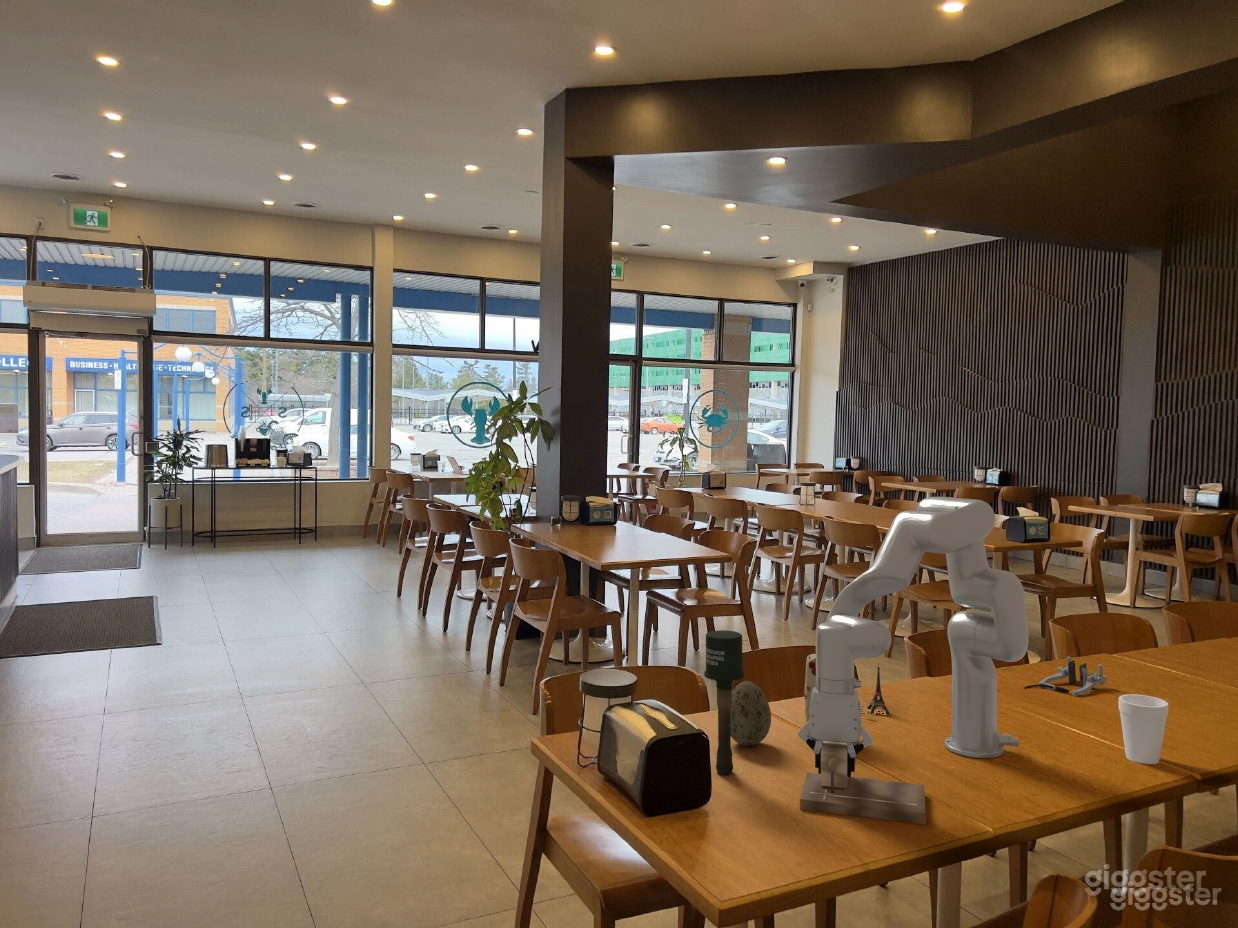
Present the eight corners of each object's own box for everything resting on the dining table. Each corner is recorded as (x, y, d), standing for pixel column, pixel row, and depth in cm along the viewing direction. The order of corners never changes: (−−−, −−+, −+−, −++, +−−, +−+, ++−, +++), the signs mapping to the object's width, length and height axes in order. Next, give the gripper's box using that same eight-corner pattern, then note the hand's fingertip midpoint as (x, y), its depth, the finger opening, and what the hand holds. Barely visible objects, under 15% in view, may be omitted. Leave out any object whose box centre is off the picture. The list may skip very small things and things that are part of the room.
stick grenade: (701, 765, 192) (700, 630, 191) (739, 764, 193) (739, 628, 192) (708, 781, 184) (707, 639, 183) (748, 779, 185) (748, 638, 184)
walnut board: (923, 794, 176) (923, 784, 176) (925, 824, 163) (925, 813, 163) (807, 781, 183) (807, 771, 183) (799, 809, 170) (799, 798, 170)
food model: (816, 742, 206) (815, 658, 205) (797, 733, 212) (797, 651, 211) (847, 734, 211) (847, 652, 210) (828, 726, 217) (828, 646, 216)
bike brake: (1065, 674, 258) (1023, 696, 248) (1064, 652, 257) (1022, 673, 247) (1112, 686, 246) (1069, 709, 236) (1110, 663, 245) (1068, 685, 235)
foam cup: (1150, 769, 188) (1151, 709, 187) (1109, 755, 196) (1109, 698, 196) (1176, 761, 192) (1177, 702, 192) (1135, 748, 200) (1135, 692, 200)
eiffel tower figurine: (877, 702, 237) (877, 653, 237) (910, 711, 229) (911, 661, 229) (843, 714, 228) (843, 663, 227) (876, 724, 220) (877, 671, 220)
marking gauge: (849, 781, 182) (849, 739, 181) (845, 806, 170) (845, 761, 169) (824, 778, 183) (824, 737, 183) (818, 803, 171) (818, 758, 171)
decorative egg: (736, 755, 198) (735, 689, 198) (717, 739, 209) (717, 677, 208) (779, 750, 201) (779, 685, 201) (758, 734, 212) (758, 673, 211)
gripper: (879, 682, 178) (879, 770, 179) (794, 676, 183) (794, 761, 184) (878, 693, 171) (878, 784, 172) (790, 686, 176) (790, 775, 177)
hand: (834, 771), depth 178 cm, fingers closed on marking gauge, 5 cm apart
